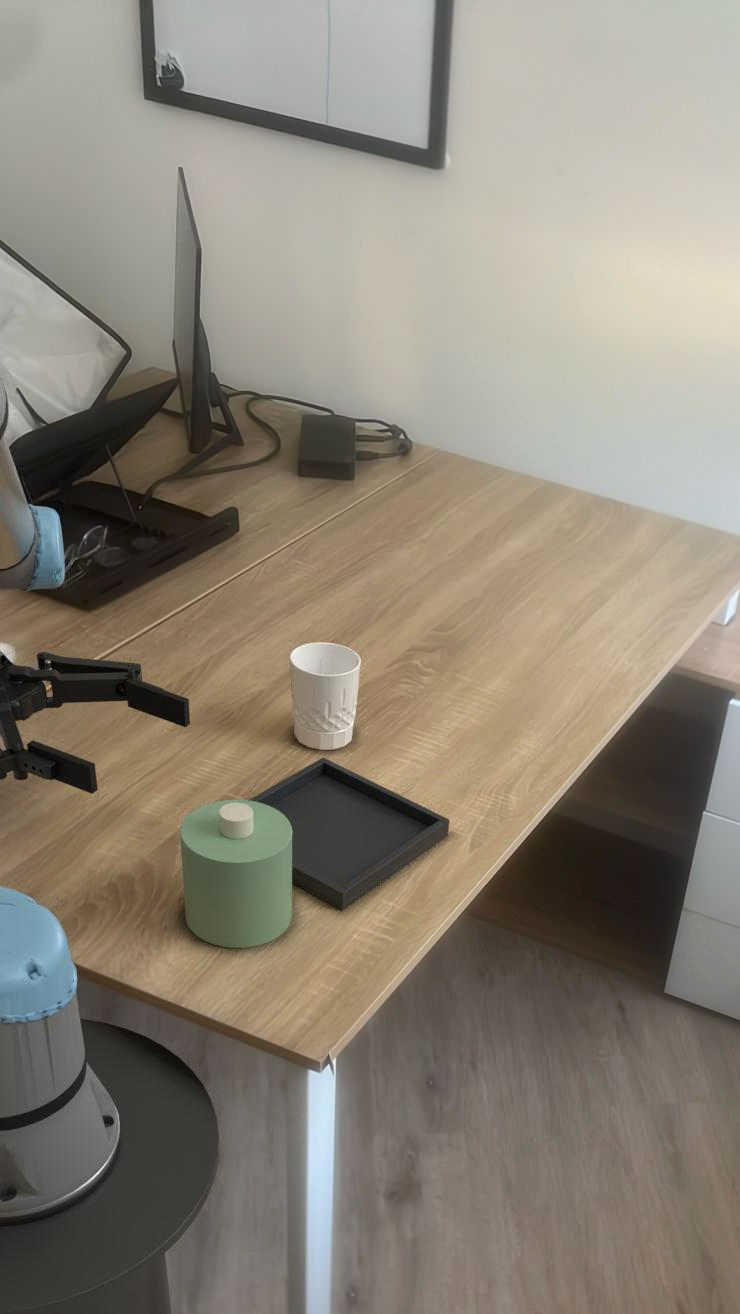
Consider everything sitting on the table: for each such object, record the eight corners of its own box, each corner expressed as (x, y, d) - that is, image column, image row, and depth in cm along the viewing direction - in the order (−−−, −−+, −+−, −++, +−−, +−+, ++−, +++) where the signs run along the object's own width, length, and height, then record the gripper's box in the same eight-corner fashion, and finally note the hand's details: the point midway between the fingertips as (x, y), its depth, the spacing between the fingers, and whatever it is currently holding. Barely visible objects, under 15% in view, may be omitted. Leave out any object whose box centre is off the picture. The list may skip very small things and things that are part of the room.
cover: (241, 962, 117) (238, 857, 110) (163, 917, 121) (154, 812, 113) (313, 913, 124) (315, 811, 117) (237, 871, 128) (234, 769, 120)
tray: (342, 910, 125) (342, 893, 124) (210, 838, 131) (209, 821, 130) (448, 835, 137) (449, 819, 136) (322, 773, 143) (323, 757, 142)
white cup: (312, 759, 145) (313, 681, 139) (276, 727, 149) (276, 650, 143) (370, 743, 149) (374, 666, 143) (334, 712, 154) (336, 636, 147)
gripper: (47, 659, 131) (222, 722, 126) (-143, 767, 113) (54, 846, 108) (38, 591, 126) (220, 654, 121) (-162, 692, 108) (43, 771, 103)
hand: (142, 744), depth 115 cm, fingers open, 13 cm apart
